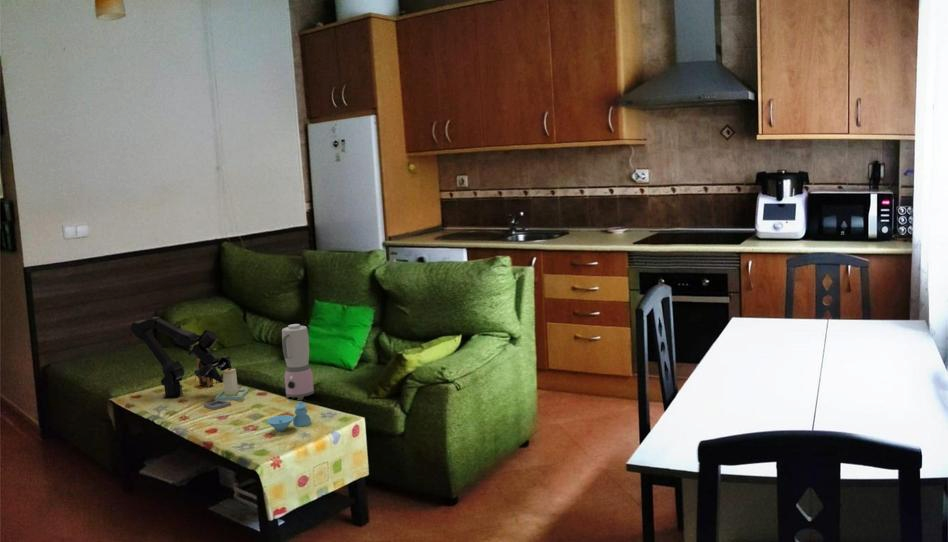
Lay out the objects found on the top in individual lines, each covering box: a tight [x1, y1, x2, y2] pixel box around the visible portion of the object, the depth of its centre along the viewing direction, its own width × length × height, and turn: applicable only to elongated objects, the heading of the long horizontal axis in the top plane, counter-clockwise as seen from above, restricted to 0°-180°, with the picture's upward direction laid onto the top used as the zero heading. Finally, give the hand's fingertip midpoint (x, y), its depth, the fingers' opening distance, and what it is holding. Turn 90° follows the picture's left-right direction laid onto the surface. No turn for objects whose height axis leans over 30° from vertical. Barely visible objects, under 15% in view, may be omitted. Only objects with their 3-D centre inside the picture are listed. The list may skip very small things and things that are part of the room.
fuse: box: [221, 368, 239, 397], centre depth 365 cm, size 4×4×12 cm
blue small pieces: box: [266, 400, 312, 432], centre depth 318 cm, size 18×10×9 cm, turn 135°
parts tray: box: [214, 388, 249, 401], centre depth 366 cm, size 12×12×2 cm
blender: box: [281, 323, 315, 401], centre depth 358 cm, size 16×12×32 cm
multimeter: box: [194, 348, 218, 387], centre depth 390 cm, size 15×10×20 cm
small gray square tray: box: [203, 400, 232, 411], centre depth 352 cm, size 8×9×2 cm
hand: (228, 379), depth 365 cm, fingers open, 9 cm apart
